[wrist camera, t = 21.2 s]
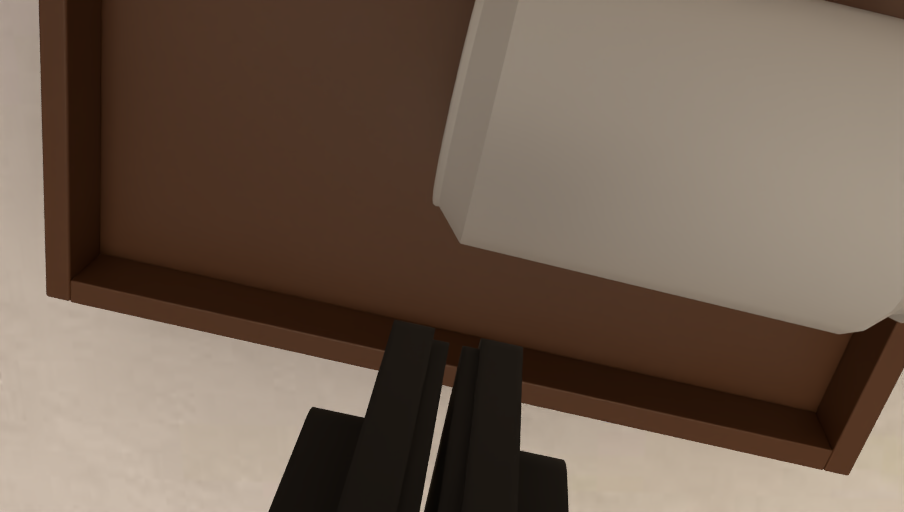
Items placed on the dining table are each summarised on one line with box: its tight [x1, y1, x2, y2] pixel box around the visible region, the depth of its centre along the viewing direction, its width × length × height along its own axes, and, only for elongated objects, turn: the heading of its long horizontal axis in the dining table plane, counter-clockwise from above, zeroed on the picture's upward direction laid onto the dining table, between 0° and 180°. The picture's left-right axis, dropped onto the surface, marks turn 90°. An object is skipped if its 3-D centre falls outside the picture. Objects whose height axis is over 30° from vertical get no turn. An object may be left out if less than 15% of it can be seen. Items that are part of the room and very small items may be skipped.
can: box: [433, 0, 904, 334], centre depth 21 cm, size 8×8×12 cm
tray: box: [39, 0, 904, 475], centre depth 24 cm, size 26×17×3 cm, turn 79°
